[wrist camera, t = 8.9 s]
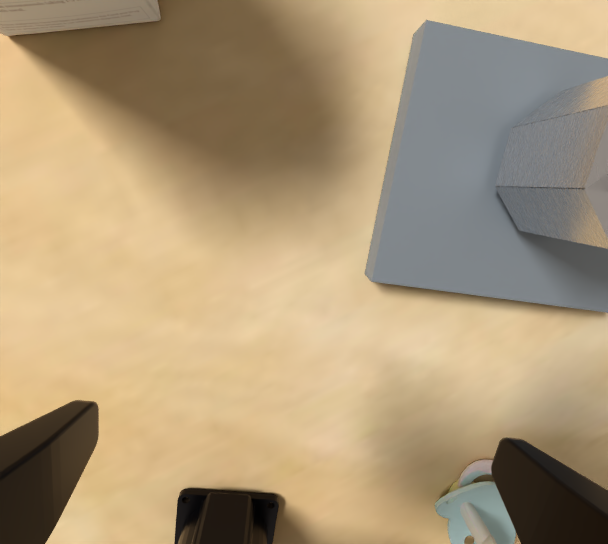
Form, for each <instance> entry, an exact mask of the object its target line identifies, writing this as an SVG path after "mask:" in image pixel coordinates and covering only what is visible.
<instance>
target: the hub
mask: <svg viewBox="0 0 608 544" xmlns="http://www.w3.org/2000/svg"><path fill="white" fill-rule="evenodd" d="M495 188H496V190H497V192H498V194H499V195H500V197H501V199H502V201H503V203H504V204H505V206H506V208H507V210H508V212H509V213H510V215H511V217H512V219H513V221H514V222H515V224H516V226H517V228H518V230H519V231H524V232H529V233H533V234H538V235H543V236H548V237H552V238H557V239H562V240H567V241H571V242H576V243H581V244H586V245H591V246H595V247H600V248H605V249H608V76H606V77H603V78H600V79H597V80H594V81H591V82H588V83H584V84H581V85H578V86H575V87H572V88H569V89H566V90H563V91H561V92H559V93H558V94H557V95H555V96H554V97H552V98H551V99H550V100H548V101H547V102H546V103H544V104H543V105H542V106H540V107H539V108H537V109H536V110H535V111H533V112H532V113H531V114H529V115H528V116H526V117H525V118H524V119H522V120H521V121H520V122H518V123H517V124H516V125H514V126H513V127H512V128H511V130H510V134H509V137H508V141H507V144H506V148H505V151H504V155H503V158H502V162H501V166H500V169H499V173H498V176H497V180H496V183H495Z"/></svg>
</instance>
